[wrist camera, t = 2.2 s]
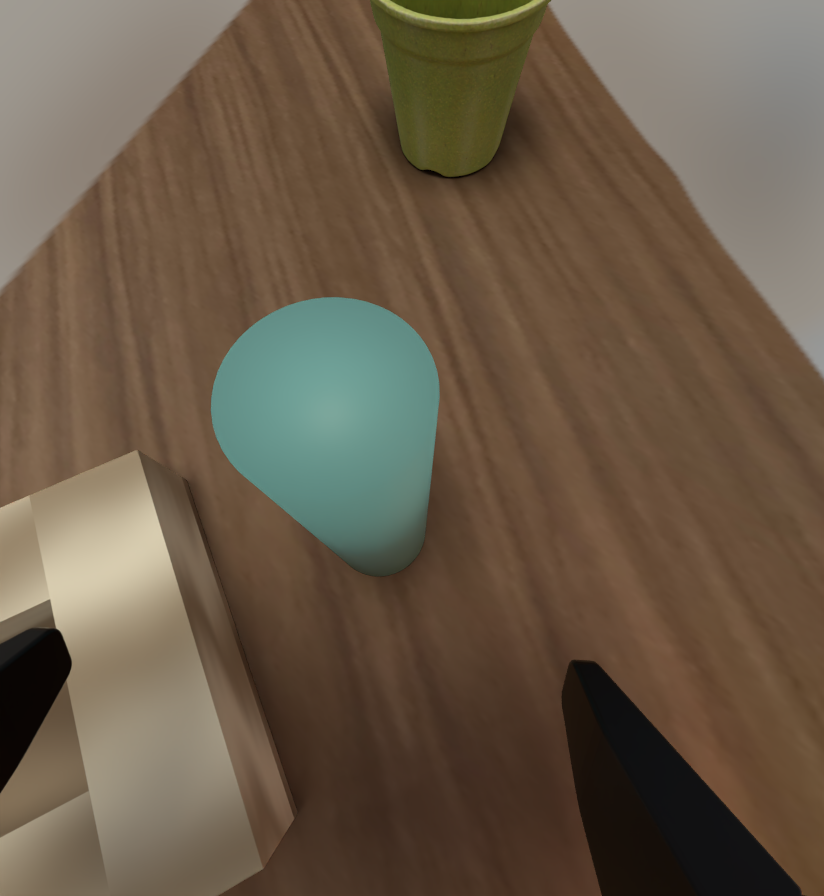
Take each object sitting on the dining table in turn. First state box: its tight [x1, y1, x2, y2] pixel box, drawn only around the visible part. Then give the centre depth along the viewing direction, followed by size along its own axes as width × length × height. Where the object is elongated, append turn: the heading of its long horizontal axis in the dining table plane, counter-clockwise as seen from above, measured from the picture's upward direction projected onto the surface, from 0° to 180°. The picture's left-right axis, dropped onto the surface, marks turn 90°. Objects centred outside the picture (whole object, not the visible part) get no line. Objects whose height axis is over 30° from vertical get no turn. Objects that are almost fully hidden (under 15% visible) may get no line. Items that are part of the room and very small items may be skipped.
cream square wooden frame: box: [0, 450, 298, 896], centre depth 16 cm, size 14×14×4 cm
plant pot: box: [370, 0, 551, 177], centre depth 25 cm, size 9×9×9 cm
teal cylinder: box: [211, 297, 439, 576], centre depth 14 cm, size 4×4×13 cm
